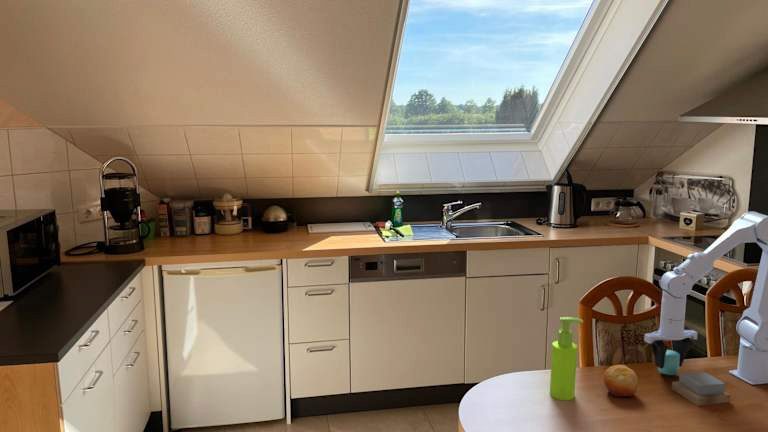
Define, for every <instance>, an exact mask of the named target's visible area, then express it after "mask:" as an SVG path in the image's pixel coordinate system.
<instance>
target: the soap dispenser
mask: <svg viewBox="0 0 768 432" xmlns="http://www.w3.org/2000/svg"><path fill="white" fill-rule="evenodd" d="M559 322H561V328H560V329H558V332H557V340H555V341H553V342H552V344H551V358H550V359H551V362H550V363H551V364H550V383H549V395H550V396H551V397H552V398H554V399H556V400H559V401H570V400H571V401H572V400H573V399H574V398H575V391H576V390H575V389H576V378H577V375H576V373H577V357H578V345H577V344H576V343H574V342H573V330H571V329H570V323H578V324H583V323H584V320H583V319H582V318H579V317H575V316H572V317H571V316H560V317H559Z"/></svg>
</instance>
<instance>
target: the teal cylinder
mask: <svg viewBox="0 0 768 432" xmlns="http://www.w3.org/2000/svg"><path fill="white" fill-rule="evenodd" d="M679 362H680V354H679V353H678V352H675V351H674V350H671V349H667V351H666V355H665V360H664V367H663V368H659V367H657V371H658V372H660V373H661V374H663V375H667V376H677V375H679V374H680V373H679V371H680V367H679Z"/></svg>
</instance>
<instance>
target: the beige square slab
mask: <svg viewBox="0 0 768 432" xmlns="http://www.w3.org/2000/svg"><path fill="white" fill-rule="evenodd" d="M671 390H672V391H674V392H675V393H677V394H678V395H680V396H681V397H683V398H684V399H686V400H687V401H689V402H690V403H692V404H693V405H695V406H697V407H698V406H707V405H709V406H710V405H716V404H724V403H725V404H727V403H730V398H731V396H730V395H731V394H730V393H728V392H726V391H725V390H724V393H720V394H709V395H699V396H698V395H697V394H695V393H693V392H692V391H690V390H689V389H687V388H686V387H684V386H683V385H681V384H680V383H679V380H677V381H672V382H671Z"/></svg>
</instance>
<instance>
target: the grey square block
mask: <svg viewBox="0 0 768 432" xmlns="http://www.w3.org/2000/svg"><path fill="white" fill-rule="evenodd" d="M678 377H679V379H678V381H679V383H680V384H681V385H683V386H684V387H686V388H687V389H689V390H690V391H692V392H693V393H695V394H697V395H698V396H699V395H709V394H720V393H724V391H725V385H726V383H724V382H723V381H722V380H720V379H718V378H716V377H715V376H712V375H711V374H710V373H708V372H706V371H695V372H683V373H679V376H678Z"/></svg>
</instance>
